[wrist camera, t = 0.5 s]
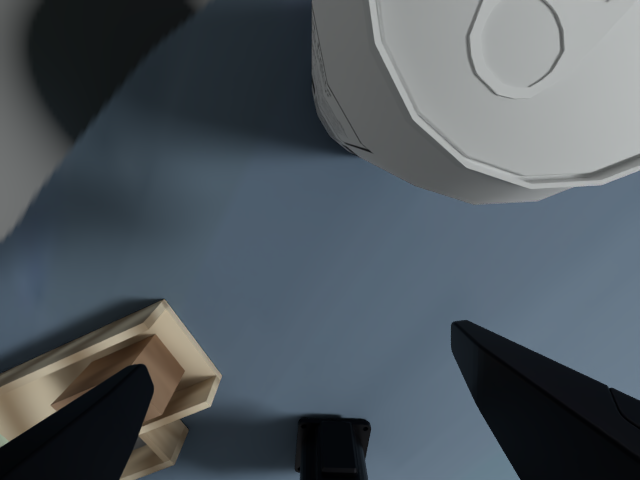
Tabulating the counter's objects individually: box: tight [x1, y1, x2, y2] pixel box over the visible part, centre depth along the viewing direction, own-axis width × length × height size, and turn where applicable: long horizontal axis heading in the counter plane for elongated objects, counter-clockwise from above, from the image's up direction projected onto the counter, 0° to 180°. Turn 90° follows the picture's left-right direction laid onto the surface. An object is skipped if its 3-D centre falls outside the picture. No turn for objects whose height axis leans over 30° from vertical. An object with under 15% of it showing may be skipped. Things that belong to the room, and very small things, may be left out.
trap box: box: [0, 299, 222, 480], centre depth 24 cm, size 24×12×3 cm, turn 115°
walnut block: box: [51, 334, 185, 422], centre depth 22 cm, size 6×4×4 cm, turn 115°
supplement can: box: [312, 0, 640, 205], centre depth 11 cm, size 8×8×15 cm
